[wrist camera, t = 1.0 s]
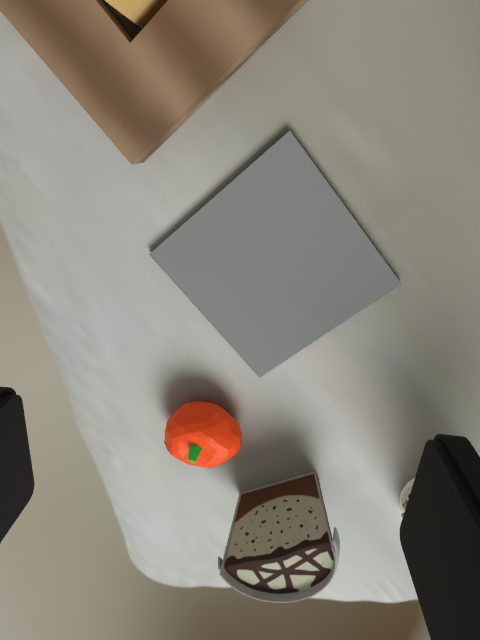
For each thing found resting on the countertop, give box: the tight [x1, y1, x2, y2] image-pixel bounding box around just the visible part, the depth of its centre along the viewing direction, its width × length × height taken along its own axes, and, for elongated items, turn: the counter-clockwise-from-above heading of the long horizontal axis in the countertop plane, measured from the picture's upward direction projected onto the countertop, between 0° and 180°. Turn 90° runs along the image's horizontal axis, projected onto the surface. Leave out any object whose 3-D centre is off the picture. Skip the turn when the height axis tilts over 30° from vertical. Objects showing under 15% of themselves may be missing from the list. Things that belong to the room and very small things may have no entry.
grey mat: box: [149, 131, 401, 378], centre depth 38 cm, size 16×16×1 cm
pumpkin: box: [164, 401, 242, 468], centre depth 43 cm, size 7×8×6 cm
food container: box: [218, 471, 340, 603], centre depth 45 cm, size 12×6×10 cm, turn 116°
